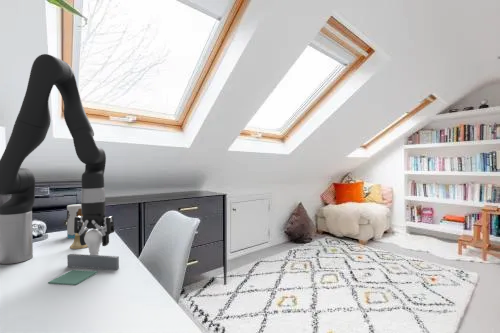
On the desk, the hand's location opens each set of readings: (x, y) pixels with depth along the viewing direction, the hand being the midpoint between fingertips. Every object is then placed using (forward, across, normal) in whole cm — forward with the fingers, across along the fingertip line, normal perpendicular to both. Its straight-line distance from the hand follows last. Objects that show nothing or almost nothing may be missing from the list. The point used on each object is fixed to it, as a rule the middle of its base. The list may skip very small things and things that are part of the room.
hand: (94, 245), depth 97 cm
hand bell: (+5, -18, +14) cm, 23 cm away
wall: (+5, +5, -7) cm, 10 cm away
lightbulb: (+6, 0, 0) cm, 6 cm away
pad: (+5, +5, -15) cm, 16 cm away
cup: (+5, -32, +27) cm, 42 cm away
